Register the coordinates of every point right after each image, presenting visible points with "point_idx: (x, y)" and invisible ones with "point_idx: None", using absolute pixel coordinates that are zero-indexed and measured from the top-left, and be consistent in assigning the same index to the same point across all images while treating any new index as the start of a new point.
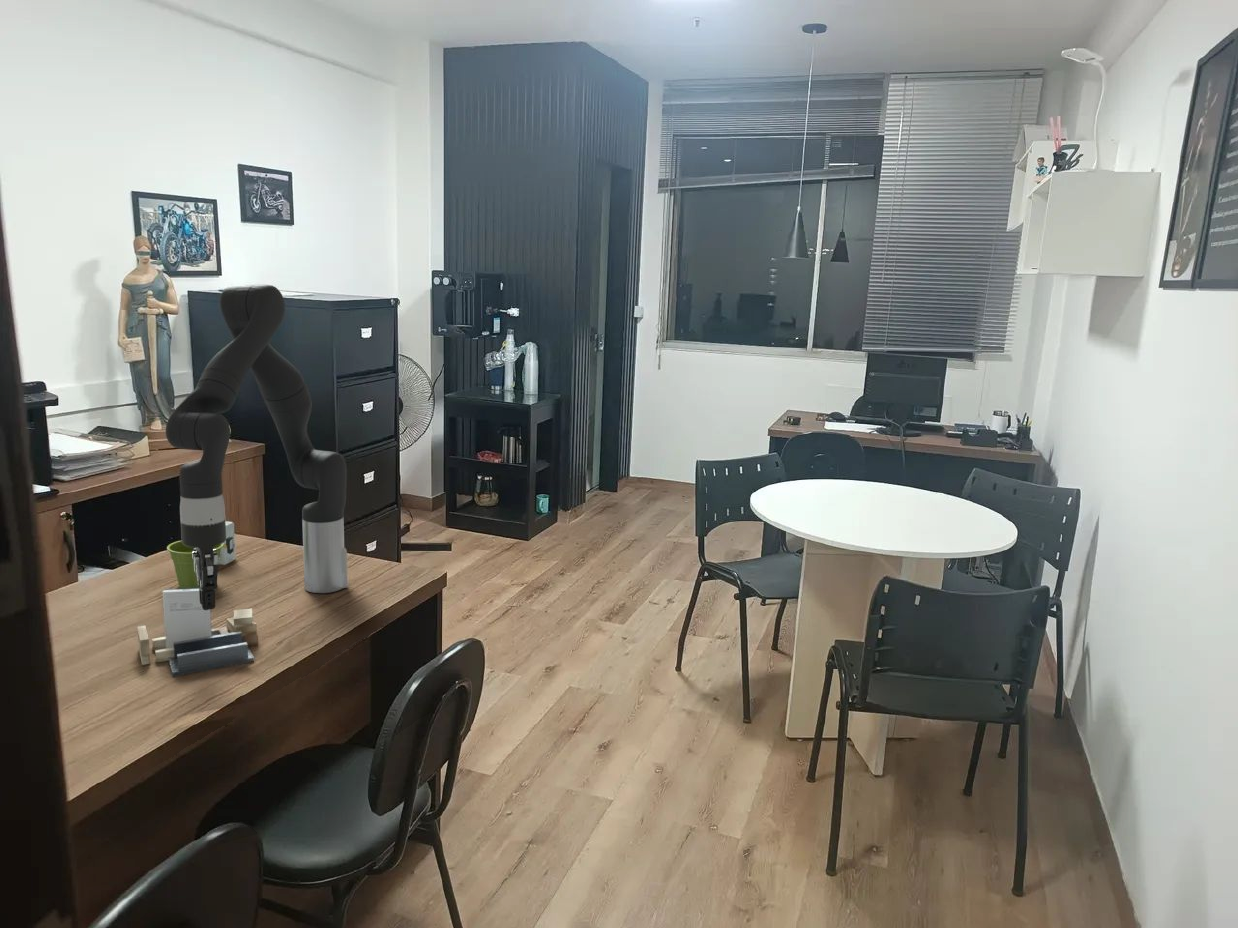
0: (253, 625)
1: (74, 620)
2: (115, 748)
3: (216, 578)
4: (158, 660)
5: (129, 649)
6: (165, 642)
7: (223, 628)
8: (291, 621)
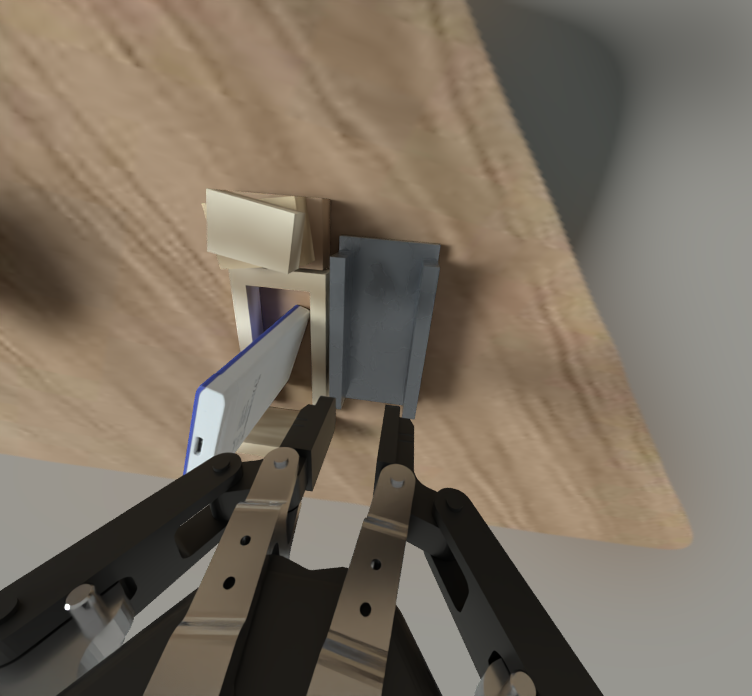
0: (297, 207)
1: (96, 456)
2: (621, 512)
3: (530, 594)
4: None
5: None
6: None
7: (238, 272)
8: (183, 31)
